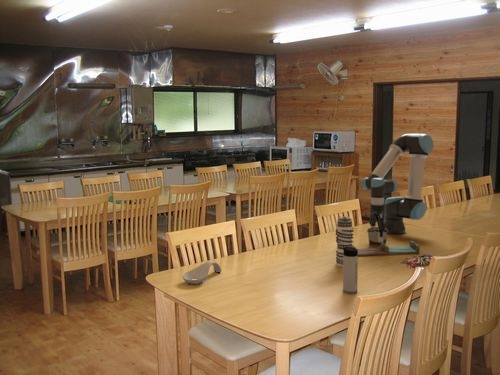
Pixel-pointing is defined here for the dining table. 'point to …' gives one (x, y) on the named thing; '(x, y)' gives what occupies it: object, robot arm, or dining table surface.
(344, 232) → the decorative candle
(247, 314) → the dining table surface
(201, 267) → the spoon rest
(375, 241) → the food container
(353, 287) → the travel mug
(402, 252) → the rack
